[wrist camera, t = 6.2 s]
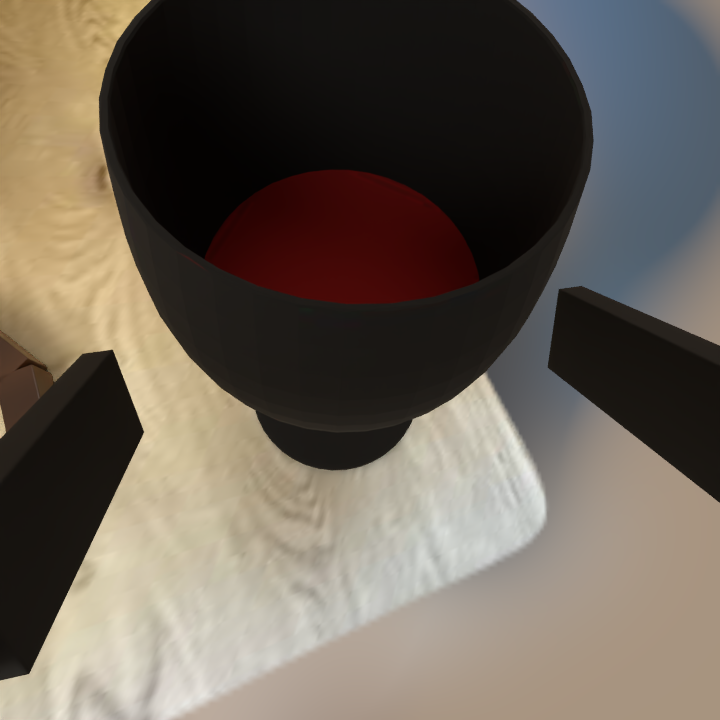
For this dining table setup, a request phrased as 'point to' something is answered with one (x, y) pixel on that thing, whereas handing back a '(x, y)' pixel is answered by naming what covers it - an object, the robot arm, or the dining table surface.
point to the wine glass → (343, 198)
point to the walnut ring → (19, 380)
